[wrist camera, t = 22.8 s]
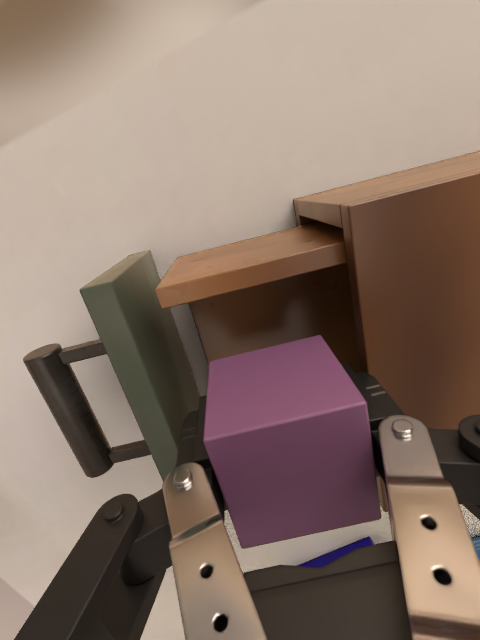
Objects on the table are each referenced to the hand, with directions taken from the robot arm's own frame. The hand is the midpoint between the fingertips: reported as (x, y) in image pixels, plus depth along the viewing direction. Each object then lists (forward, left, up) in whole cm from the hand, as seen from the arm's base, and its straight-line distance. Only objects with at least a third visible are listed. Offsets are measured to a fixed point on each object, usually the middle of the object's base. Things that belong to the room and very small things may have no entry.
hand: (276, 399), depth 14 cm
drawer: (-2, -1, -7) cm, 7 cm away
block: (0, 0, 0) cm, 0 cm away
